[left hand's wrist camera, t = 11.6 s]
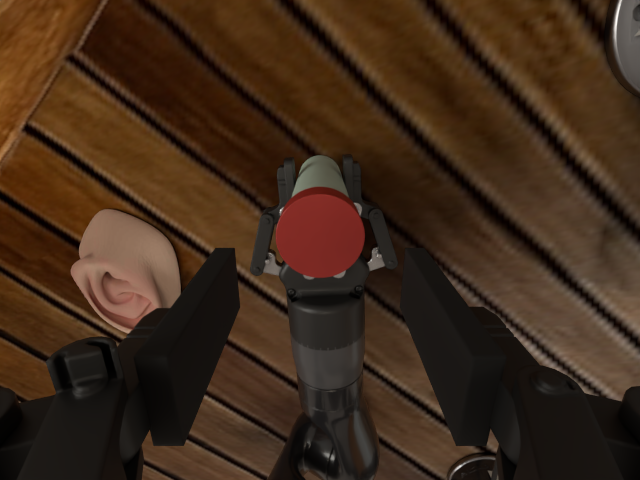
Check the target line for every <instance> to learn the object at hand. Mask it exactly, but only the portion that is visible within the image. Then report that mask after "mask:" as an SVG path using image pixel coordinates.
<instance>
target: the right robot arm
mask: <svg viewBox="0 0 640 480" xmlns="http://www.w3.org/2000/svg"><path fill="white" fill-rule="evenodd" d="M277 179H278V189H279V199H280V203H279V204H278V205H276V206H274V207H268V208H266V209H265V210H264V212H263V215H262V216H261V218H260V221H259V226H258V231H257V236H256V241H255V247H254V252H253V257H252V262H251V267H250V271H251V273H252V274H253V275H256V276H259V275H261V274H262V273H263V272H265V273H269V274H274V275H278V276H279V278H280V280H281V281H282V282H283V284H284V286H285V288H286V294H287V304H288V314H289V324H290V334H291V344H292V352H293V357H294V361H295V365H296V369H297V379H298V389H299V398H300V403H301V406H302V409H303V411H304V412H303V413H301V414H300V416H299V417H298V418H297V420H296V422H295V423H294V425H293V428H292V430H291V432H290V434H289V437H288V439H287V441H286V444H285V446H284V448H283V450H282V452H281V454H280V456H279V458H278V460H277V462H276V464H275V466H274V468H273V470H272V472H271V473H270V475H269V477H268V479H267V480H306V479H305V478H304V477H303V476H304V475H305V474H306V473H307V472H308V471H309V472H310V473H312V474H313V475H315V476H317V477H318V478H320V479H321V480H374V478H375V476H376V473H377V470H378V466H379V457H380V449H379V440H378V435H377V432H376V428H375V425H374V422H373V419H372V416H371V414H370V411H369V408H368V405H367V402H366V399H365V397H364V394H363V359H364V353H365V309H364V284H365V281H366V279H367V277H368V276H369V273H370V271H372V270H375V269H378V268H381V267H384V266H385V267H386V268H387V269H394V268H396V267H397V265H398V261H397V257H396V254H395V251H394V248H393V245H392V242H391V238H390V235H389V232H388V229H387V226H386V222H385V219H384V216H383V213H382V211H381V210H380V208H379V206H378V205H377V204H376V203H375V202H368V201H365V200H363V199H362V198H361V168H360V166H359V164H358V162H357V161H353V159H352V155H351V154H347V155H343V181H344V184H345V187H346V190H347V193H348V196H349V198H350V199H351V200H352V202H353V203H354V204H355V206H356V208H357V210H358V212H359V215H360V217H363V218H366V219H369V222H370V225H371V228H372V231H373V234H374V237H375V240H376V243H377V244H374V245H372V247H371V249H370V251H371V254H370V256H369V257H368V258H367V259H365V257H364V256H363V255H362V254H360V256H359V257H358V259H357V260H356V261H355V263H354V264H353V265H352V266H351V267H349V268H348V269H347V270H345V271H344V272H342V273H340V274H337V275H335V276H331V277H325V278H315V277H309V276H306V275H303V274H301V273H299V272H297V271H295V270H294V269H292V268H291V267H290V266H289V265H288V264H287V263H286V262H285V261H283V262H282V263H280V262H278V261H277V259H276V252H275V251H274V250H272V249H270V244H271V240H272V235H273V230H274V225H275V224H276V223H278V221H279V219H280V216H281V213H282V211H283V208H284V207H285V205H286V204H287V202H288V201H289V200H290V199H291V197H292V194H293V191H294V188H295V185H296V177H295V164H294V157H290V158H285V159H284V165H280V167H279V168H278V172H277ZM495 458H496V455H493V454H475V455H471V456H468V457H465V458H463V459H461V460H460V461H458V462H457V463H456V464H455V465H454V466H453V467H452V468H451V469H450V471H449V473H448V477H447V480H491V476H492V471H493V466H494V462H495ZM497 480H499V479H498V476H497Z"/></svg>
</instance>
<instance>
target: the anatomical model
mask: <svg viewBox="0 0 640 480" xmlns="http://www.w3.org/2000/svg"><path fill="white" fill-rule="evenodd" d="M79 255H80V258H81V259H80V260H78V261H77V262H76V263H75V264H74V265H73V266H72V268H71V274H72V277H73V278H74V280H75V282H76V283H77V285H78V286H79V288H80V289H81V291H82V292H83V294H84V295H85V297H86V299H87V300H88V301H89V303H90V304H91V306H92V307H93V309H94V310H95V311H96V312H97V313H98V314H99V315H100V316H101V317H102V318H103V319H104V320H105V321H106V322H108V323H109V324H111V325H112V326H114V327H116V328H118V329H119V330H121V331H124V332H126V333H130V331H131V330H132V329H134V327H135V326H136V324H137V323H138V322H139V321H140V320H141V319H142V317H144V316H145V315H147V314H148V313H150V312H151V311H153V310H155V309H156V308H171V306H172V305H173V304H174V302H175V301H176V300H177V298H178V297H179V296H180V294H181V285H180V275H179V268H178V263H177V258H176V255H175V252H174V249H173V247H172V245H171V243H170V242H169V240H168V239H167V238H166V237H165V236H164V235H163V234H162V233H161V232H160V231H158V230H157V229H156V228H154V227H153V226H151V225H149V224H148V223H146V222H144V221H142V220H140V219H138V218H136V217H134V216H131V215H129V214H126V213H123V212H120V211H117V210H113V209H104V210H101V211H100V212H98V213H97V214H96V215H95V216H94V218H93V219H92V220H91V222H90V224H89V226H88V227H87V229H86V231H85V232H84V235H83V238H82V241H81V244H80V247H79Z"/></svg>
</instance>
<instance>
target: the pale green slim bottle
mask: <svg viewBox="0 0 640 480" xmlns="http://www.w3.org/2000/svg"><path fill="white" fill-rule="evenodd" d="M311 187H329V188H333V189H336V190H338V191H340V192H342V193H344V194H345V195H346V196H348V193H347V190H346V187H345V184H344V181H343V178H342V175H341V172H340V169H339V167H338V165H337V164H336V162H335V161H334V160H332V159H331V158H329V157H327V156H322V155H318V156H313V157H311V158H309V159H308V160H306V161H305V162H304V164H303V165H302V167H301V169H300V172H299V176H298V179H297V182H296V185H295V188H294V191H293V194H292V197H293V196H294V195H296V194H297V193H299V192H300V191H302V190H305V189H308V188H311ZM292 197H291V198H292ZM348 197H349V196H348Z"/></svg>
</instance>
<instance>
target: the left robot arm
mask: <svg viewBox="0 0 640 480" xmlns="http://www.w3.org/2000/svg"><path fill="white" fill-rule="evenodd" d="M605 49H606V54H607V59H608V62H609V65H610V67H611V70H612V72H613V74H614V75H615V77H616V78H617V80H618V81H619V82H620V84H621V85H622V86H623V87H624V88H625V89H627V90H628V91H629V92H631V93H632V94H634V95H636V96H638V97H640V0H611V2H610V5H609V9H608V13H607V18H606V25H605ZM239 309H240V301H239V290H238V279H237V268H236V258H235V248H215V250H214V251H213V252H212V254H211V255H210V256H209V258H208V259H207V260H206V261H205V263H204V264H203V265H202V267H201V268H200V269H199V271H198V272H197V273H196V275H195V276H194V277H193V279H192V280H191V281H190V283H189V284H188V285H187V287H186V288H185V289H184V291H183V292H182V293H181V294H180V296H179V297H178V298H177V300H176V301H175V302H174V304H173V305H172V306H171V308H156V309H155V310H153V311H151V312H150V313H148V314H147V315H145V316H144V317H142V319H141V320H140V321H139V322H138V323H137V324H136V326H135V327H134V329H132V330H131V331H130V333H129V334H128V335H127V338H124V340H123V341H122V342H121V343H120V344H119V345H118V347H117V345H116V342H115V341H114V340H112V339H111V338H107V337H102V336H101V337H89V338H86V339H82V340H78V341H75V342H73V343H71V344H69V345H66V346H64V347H62V348H61V349H59V350H58V351H57V352H55V353H54V354H52V355H51V357H50V358H49V359H48V360H47V361H46V364H47V367H48V370H49V373H50V376H51V379H52V382H53V385H54V388H55V390H56V394H55V395H53V396H49V397H44V398H40V399H35V400H31V401H26V402H22V403H19V402H18V399H17V397H16V394H15V392H13V391H12V390H11V389H9V388H0V480H142V471H143V463H144V456H143V450H142V446H141V445H142V443H143V441H144V439H145V437H146V435H147V433H148V432H149V430H150V432H151V437H152V441H153V445H154V446H184V444H185V441H186V439H187V437H188V434H189V432H190V429H191V427H192V424H193V422H194V419H195V417H196V414H197V412H198V409H199V407H200V405H201V402H202V400H203V397H204V395H205V392H206V390H207V387H208V385H209V382H210V380H211V377H212V375H213V373H214V370H215V368H216V365H217V363H218V360H219V358H220V355H221V353H222V350H223V348H224V345H225V343H226V341H227V338H228V336H229V333H230V331H231V328H232V326H233V323H234V321H235V318H236V316H237V313H238V311H239ZM400 309H401V311H402V313H403V316H404V318H405V321H406V323H407V326H408V328H409V331H410V333H411V336H412V338H413V341H414V343H415V345H416V348H417V350H418V353H419V355H420V358H421V360H422V363H423V365H424V368H425V370H426V373H427V375H428V377H429V380H430V382H431V385H432V387H433V390H434V392H435V395H436V397H437V400H438V402H439V405H440V407H441V409H442V412H443V414H444V417H445V419H446V422H447V424H448V427H449V429H450V432H451V434H452V437H453V439H454V442H455V444H456V446H486V445H487V441H488V437H489V432H490V428H491V430H492V432H493V434H494V435H495V437H496V439H497V441H498V443H499V446H498V450H497V454H496V458H495V462H494V466H493V471H492V476H491V480H497V476H498V479H499V480H640V386H636V387H631V388H629V389H628V390H626V392H625V394H624V397H623V399H622V402H621V401H617V400H612V399H608V398H603V397H598V396H594V395H589V394H586V393H584V392H583V390H582V389H581V388H580V386H579V385H578V384H577V383H576V382H575V381H574V380H572V379H571V378H570V377H568V376H567V375H565V374H563V373H561V372H559V371H557V370H555V369H552V368H549V367H545V366H541V365H539V364H538V362H537V361H536V360H535V359H534V358H533V357H532V355H531V354H530V353H529V352H528V351H527V350H526V348H525V347H524V346H523V345H522V344H521V343H520V341H519V340H518V339H517V338H516V337H514V335H513V333H512V332H511V331H510V330H509V329H508V328H506V325H505V324H504V323H503V322H502V321H501V319H500V318H499V317H498V316H497V315H495V314H494V313H492V312H491V311H489V310H487V309H486V308H484V307H469V306H468V305H467V304H466V302H465V301H464V300H463V298H462V297H461V296H460V294H459V293H458V292H457V291H456V289H455V288H454V287H453V285H452V284H451V283H450V281H449V280H448V279H447V277H446V276H445V275H444V273H443V272H442V271H441V269H440V268H439V267H438V265H437V264H436V263H435V261H434V260H433V259H432V258H431V256H430V255H429V254H428V252H427V251H426V250H425V248H405V258H404V268H403V279H402V290H401V301H400Z"/></svg>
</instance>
